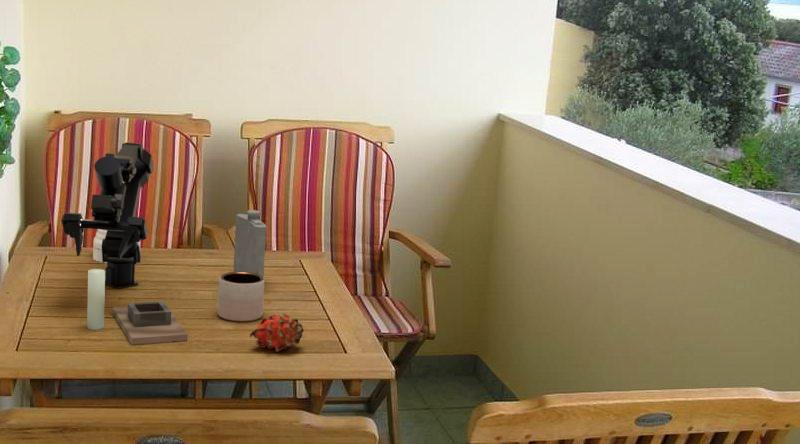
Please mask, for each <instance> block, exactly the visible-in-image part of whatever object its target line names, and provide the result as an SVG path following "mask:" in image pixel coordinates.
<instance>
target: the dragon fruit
mask: <svg viewBox="0 0 800 444" xmlns="http://www.w3.org/2000/svg"><path fill="white" fill-rule="evenodd" d="M282 315H283V316H281V315H280V314H279V315H277V314H270V315H269V317H267V318H262V319H261V321H260V322H259V324H258V325H257V326H256V328H255V329H254V330H253V331H252V332H251V333H250V334H249V337H250V338H252V337H254V338H255V339H257V340H256V341H255V346H256V345H257V346H259V347H258V348H266V349H268V350H270V349H274V348H275V352H277V353H278V352H281V351H282V350H289V349H290V348H291V346H292V345H298V344H299V343H300V341H301V339H302V337H303V333H304V331H305V330H304V328H303V327H304V326H303V325H302V324H301V323H300V322H299V320H298V319H297V318H293V317H290V316H289V315H288V314H287V313H283V312H282Z"/></svg>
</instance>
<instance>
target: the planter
mask: <svg viewBox="0 0 800 444" xmlns="http://www.w3.org/2000/svg"><path fill="white" fill-rule="evenodd" d="M265 279H266V278H265V277H263V276H261V275H259V274H256V273H251V272H233V271H230V272H224V273H222V274H220V275H219V279H218V280H219V281H218V294H217V297H218V298H217V311H216V312H217V315H218V316H219V317H220V318H221V319H223V320H225V321H226V320H227V321H230V322H234V323H235V322H236V323H237V322H238V323H247V322H248V323H250V322H254V321H257V320H259V319H261V317H263V314H264V301H265V300H264V298H265V296H264V295H265Z"/></svg>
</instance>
